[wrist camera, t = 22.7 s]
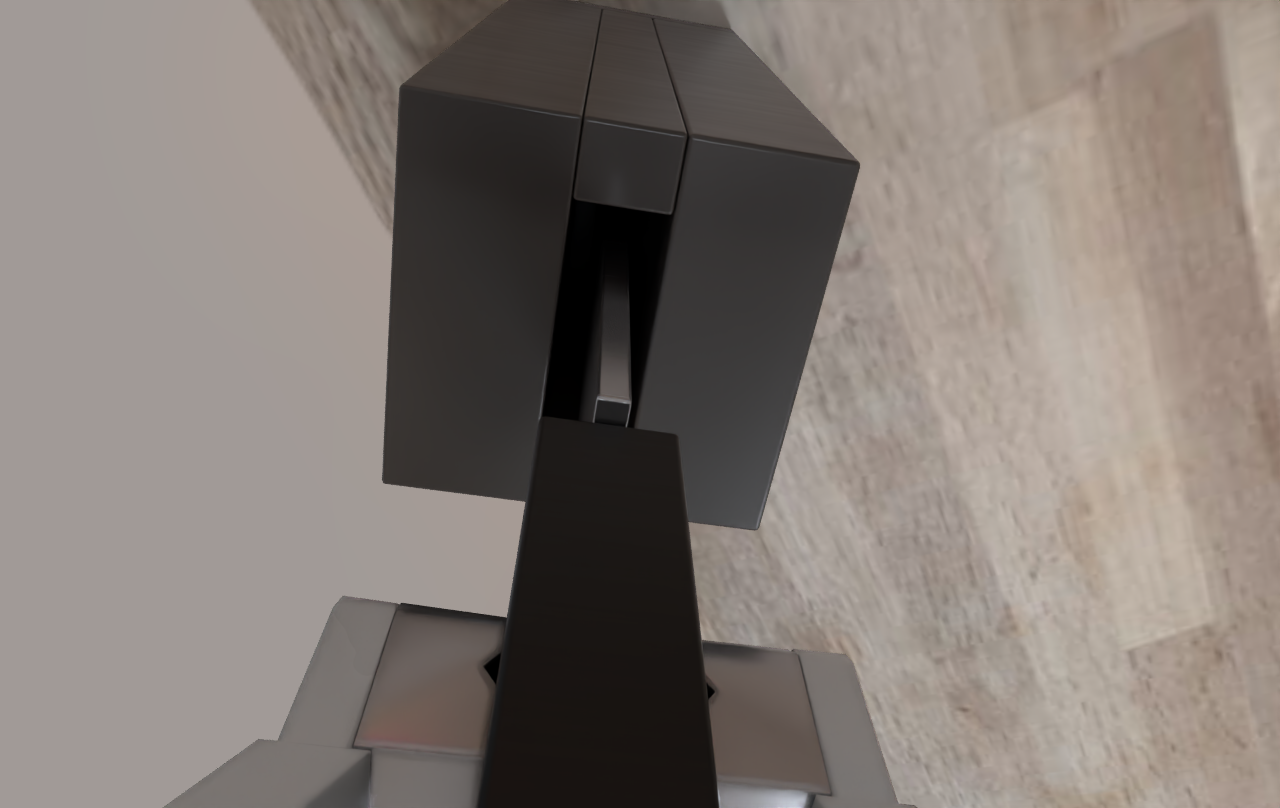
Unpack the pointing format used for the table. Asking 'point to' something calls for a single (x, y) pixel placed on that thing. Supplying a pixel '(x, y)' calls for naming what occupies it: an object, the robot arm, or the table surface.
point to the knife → (602, 599)
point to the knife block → (563, 242)
